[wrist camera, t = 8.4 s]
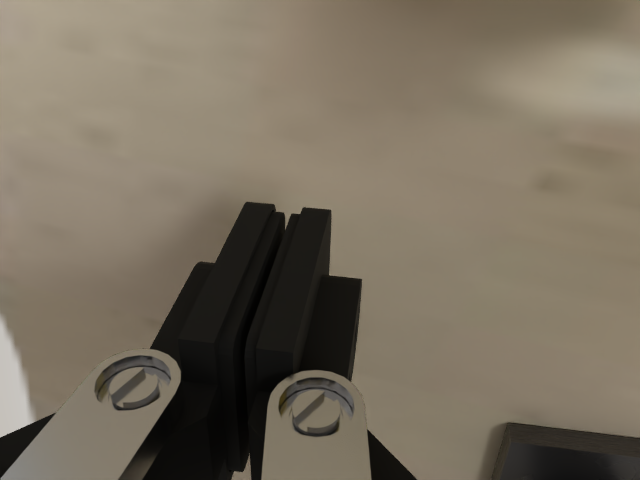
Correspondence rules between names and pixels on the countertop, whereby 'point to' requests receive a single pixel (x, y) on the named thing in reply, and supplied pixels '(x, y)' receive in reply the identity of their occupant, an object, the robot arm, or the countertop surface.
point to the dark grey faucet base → (565, 455)
